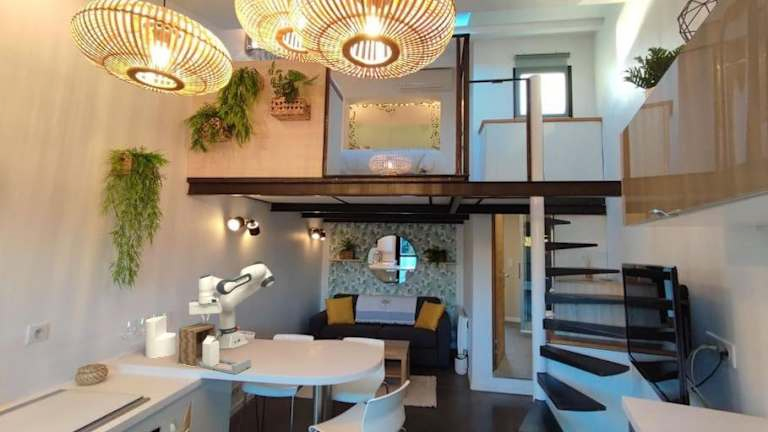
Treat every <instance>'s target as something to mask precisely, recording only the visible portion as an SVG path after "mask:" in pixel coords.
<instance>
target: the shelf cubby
mask: <svg viewBox="0 0 768 432" xmlns="http://www.w3.org/2000/svg"><path fill="white" fill-rule="evenodd" d="M207 335H208V336H215V337H216V324H213V323H205V322H198V323H195V324H194V323H193V324H191V325H188V326H185V327H184V326H183V327H181V328H179V329H178V337H179V338H178V341H179V342H178V344H179V345H178V350H179V351H178V357H179V359H178V360H179V361H178V362H179V363H181V364H186V365H190V366H196V367H197V360H198V359H200V358H201V359H203V344H202V343H203V342H204V340H205V339H206V338H207ZM197 358H198V359H197Z"/></svg>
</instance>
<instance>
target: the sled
mask: <svg viewBox="0 0 768 432" xmlns="http://www.w3.org/2000/svg"><path fill="white" fill-rule="evenodd" d="M251 360H252V359H251V358H245V359H243V360H241V361H239V362H238V361H234V360H228V359H223V358H219V363H222V362H224V363H223V364H228V363H230V364H229V365H231V369H229V368H224V367H221V366H216V365H215V366H210V365H206V364H203V360H202V361H200V362H198V367H199V366H203V367H207V368H206V369H208V368H210V369H209V370H213V369H215V370H214V371H217V370H218V372H222V373H223V372H224V373H228V374H232V375H237V374H239V373H241V372H243V371H245V370H244V369H246V368H247V367H250V366H251V365H252V361H251ZM233 364H234V365H233ZM203 367H202V368H203ZM251 367H252V366H251ZM251 367H250V368H251ZM242 370H243V371H242ZM246 370H247V369H246ZM240 371H241V372H240ZM238 372H239V373H238Z"/></svg>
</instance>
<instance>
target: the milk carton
mask: <svg viewBox="0 0 768 432" xmlns="http://www.w3.org/2000/svg"><path fill="white" fill-rule="evenodd" d="M202 344H203V358H202V361H203V364H206V365H210V366H214V365H215V366H217V365H216V364H218V365H220V362H219V359H220V349H219V339H217V338H216V335H215V336H208V335H207V338H206V339H205V340H204V342H203V343H202Z"/></svg>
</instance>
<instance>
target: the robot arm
mask: <svg viewBox="0 0 768 432" xmlns="http://www.w3.org/2000/svg"><path fill="white" fill-rule="evenodd" d="M275 281H276V279H275V277H274V275H273V273H272V272H271V270H270V269H269V268H268V267H267V266H266V265H265V263H264V262H263V261H260V260H258V261H256V262H254V263H253V264H251V265H249V266H245V267H244V268H243V269H241V271H240V272H239V276H236V277H235V278H232V279H227V278H226V279H224V278H220V277H219V278H218V277H216V276H213V275H212V274H205V275H201V276H200V277H199V278H198V284H197V285H198V286H197V287H198V288H197V290H198V297H197V300H196V299H195V300H191V301H189V302H188V315H189V316H194V315H195V316H197V315H201V318H202V321H203V322H206V321H209V319H210V317H211V315H214V314H219V315H218V317H219V318H218V319H219V320H218V321H219V326H218V327H219V328H218V341H219V350H221V349H223V350H227V349H231V350H232V349H235V348H238V347H241V346H244V345H247V344H249V342H250V341H249V340H248V339H247V338H246V335H245V334H244V333H243V332H241V331H239V330H240V329H241V327H240V326H237V325H236V311H235V307H236V306H238V305H239V304H241V303H242V302H243V301H244V300H245V299H247V298H248V297H250V296H252V294H254V293H256V292H257V291H259V290H260V289H261V288H269V287H271V286H272V285H273V284H274V283H275ZM214 293H216V294H220V296H219V297H218V296H216V295H214ZM205 315H207V317H205Z"/></svg>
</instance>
